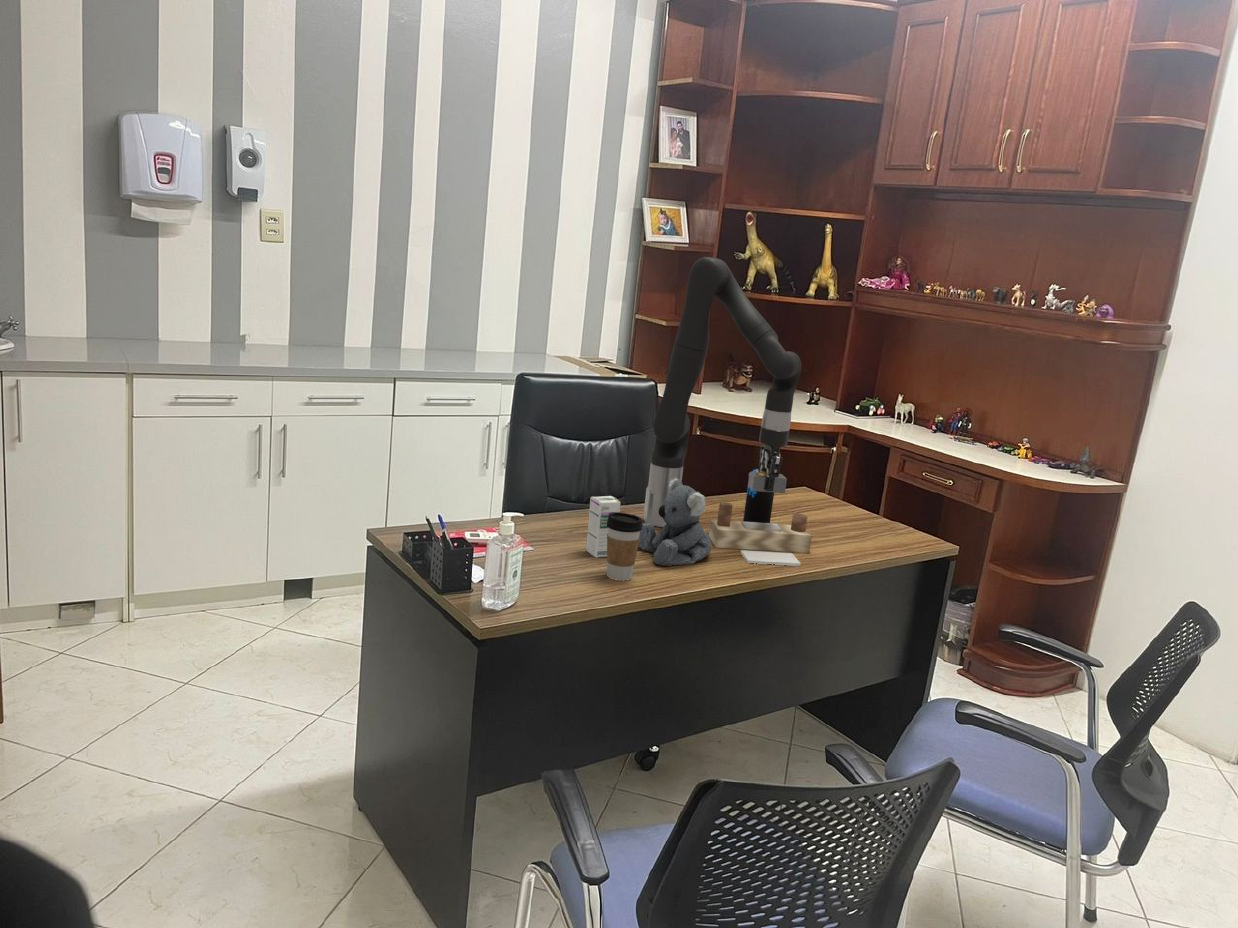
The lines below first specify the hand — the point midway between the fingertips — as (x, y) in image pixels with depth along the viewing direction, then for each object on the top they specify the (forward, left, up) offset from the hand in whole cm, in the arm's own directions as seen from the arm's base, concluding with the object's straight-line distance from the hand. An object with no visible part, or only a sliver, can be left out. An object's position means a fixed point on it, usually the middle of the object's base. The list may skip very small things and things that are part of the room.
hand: (765, 487), depth 257 cm
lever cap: (0, 0, 0) cm, 1 cm away
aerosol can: (+3, +15, -16) cm, 22 cm away
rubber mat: (0, -12, -16) cm, 20 cm away
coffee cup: (-42, -31, -16) cm, 55 cm away
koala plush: (-25, -13, -17) cm, 33 cm away
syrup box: (-45, -15, -16) cm, 50 cm away
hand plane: (0, 0, -16) cm, 16 cm away
